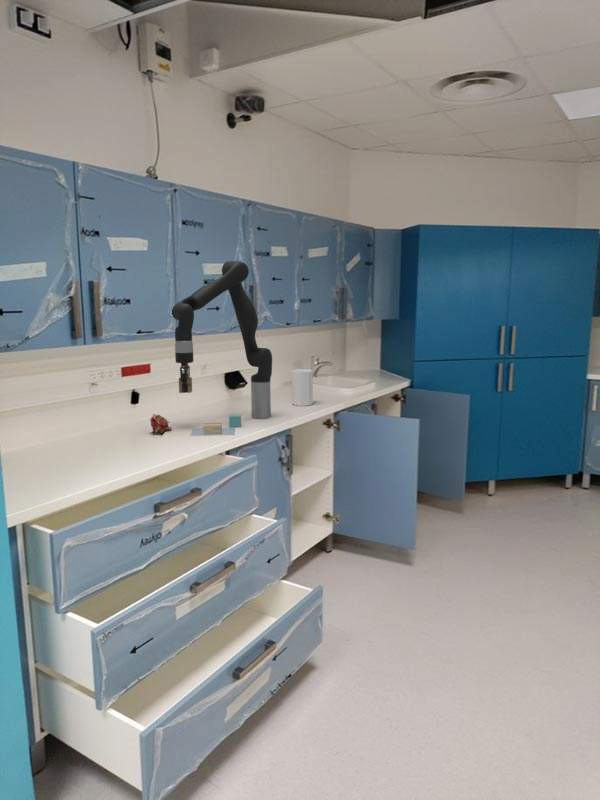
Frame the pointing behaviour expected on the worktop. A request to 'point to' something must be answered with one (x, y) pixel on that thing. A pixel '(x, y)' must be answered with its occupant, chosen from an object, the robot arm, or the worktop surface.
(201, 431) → the board
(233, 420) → the block teal
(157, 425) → the flower
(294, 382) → the cup
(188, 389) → the block walnut
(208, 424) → the base block
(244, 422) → the worktop surface
